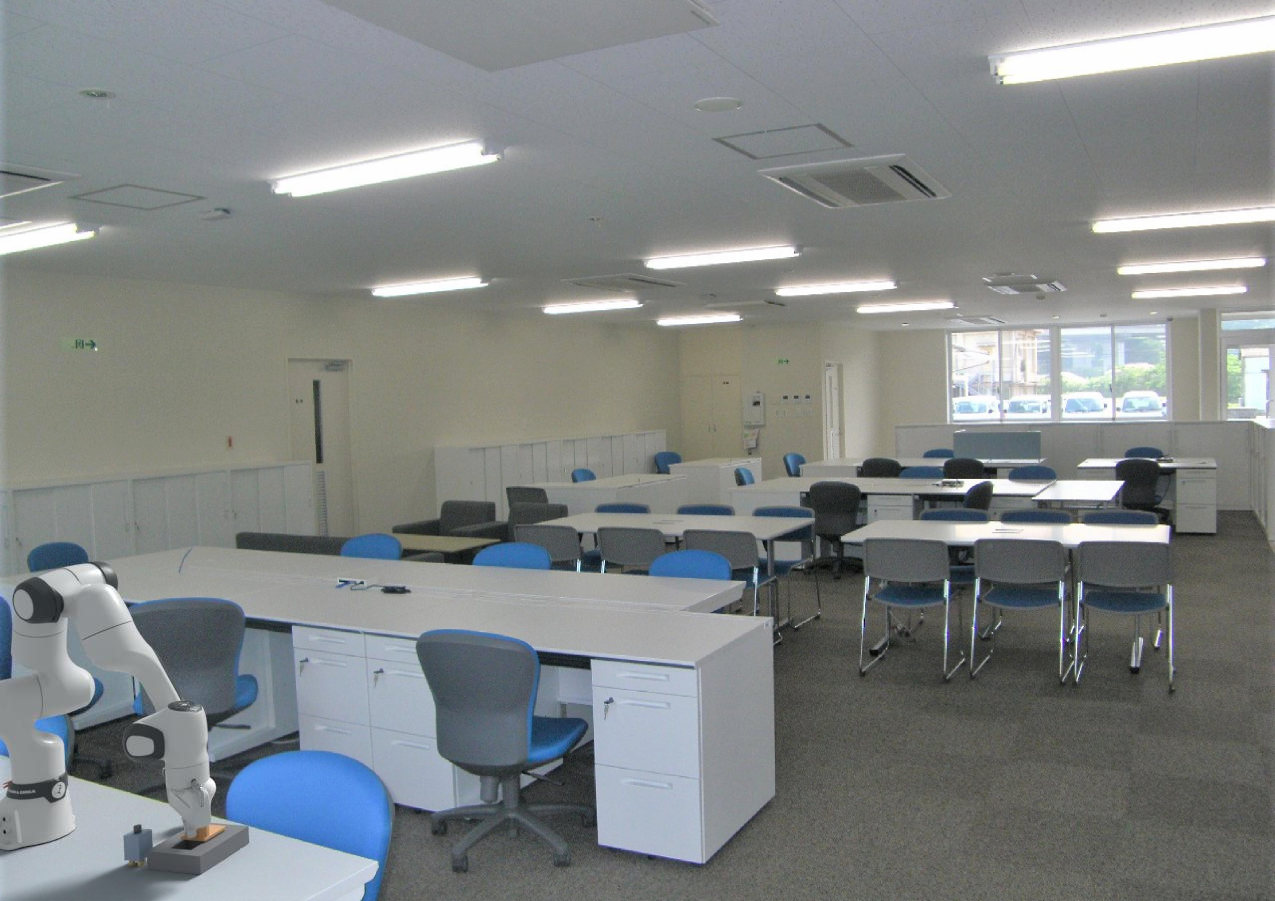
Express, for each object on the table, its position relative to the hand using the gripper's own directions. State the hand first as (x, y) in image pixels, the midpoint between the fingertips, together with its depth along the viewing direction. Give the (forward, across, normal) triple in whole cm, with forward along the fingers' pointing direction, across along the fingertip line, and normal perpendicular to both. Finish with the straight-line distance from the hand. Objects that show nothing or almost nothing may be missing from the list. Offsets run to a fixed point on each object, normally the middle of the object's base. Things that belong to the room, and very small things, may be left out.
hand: (190, 835), depth 212 cm
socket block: (+6, +1, -2) cm, 6 cm away
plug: (+6, +7, +9) cm, 13 cm away
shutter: (+1, +2, -3) cm, 4 cm away
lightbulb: (+6, +22, -9) cm, 24 cm away
